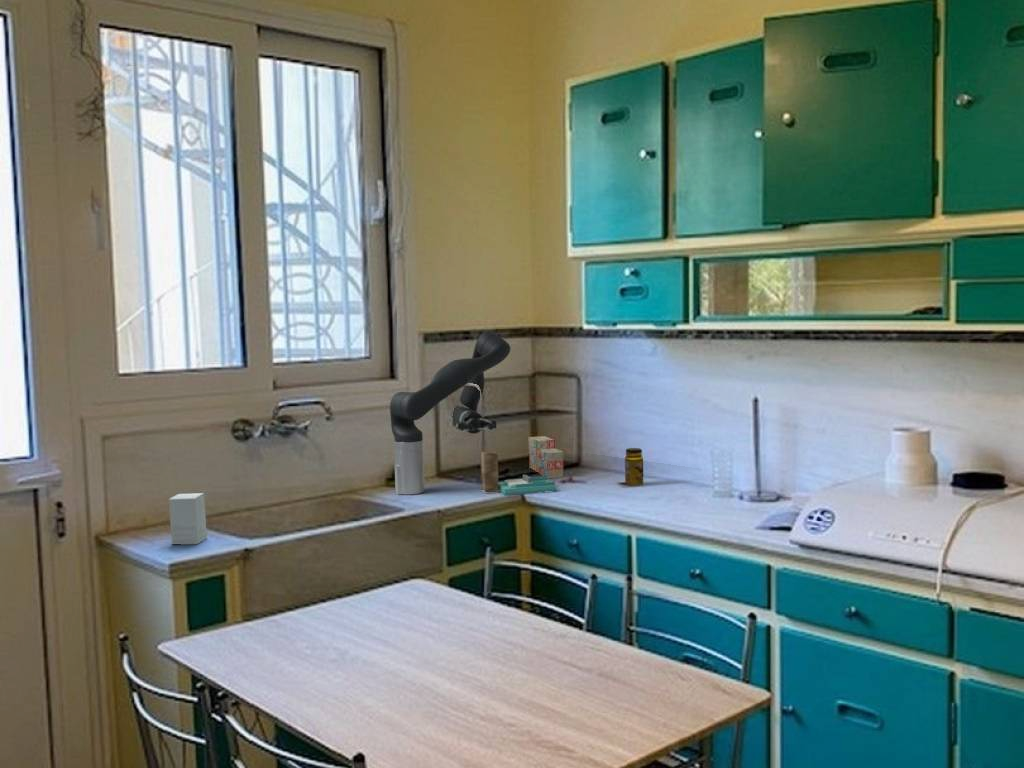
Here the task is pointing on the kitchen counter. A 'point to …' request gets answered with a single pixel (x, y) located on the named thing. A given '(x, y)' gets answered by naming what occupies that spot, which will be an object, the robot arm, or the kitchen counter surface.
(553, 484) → the puzzle board
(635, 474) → the condiment
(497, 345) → the robot arm
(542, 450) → the white printed carton
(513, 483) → the sliding lid
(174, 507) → the supplement box
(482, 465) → the walnut post
